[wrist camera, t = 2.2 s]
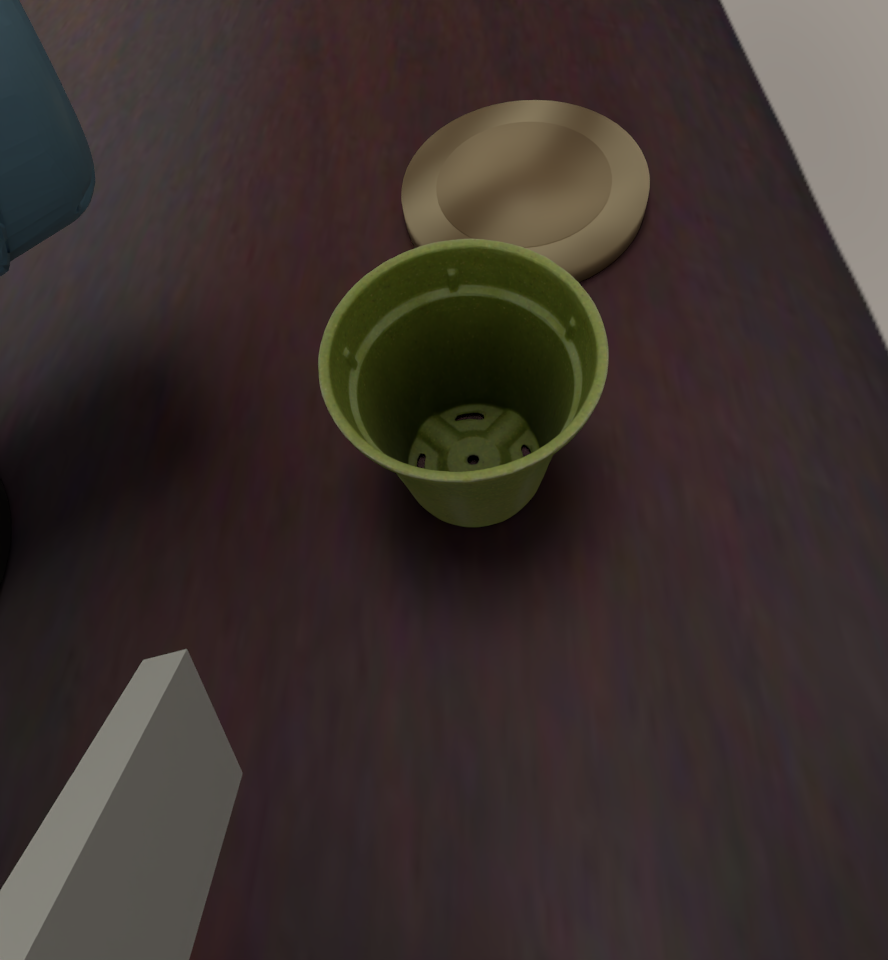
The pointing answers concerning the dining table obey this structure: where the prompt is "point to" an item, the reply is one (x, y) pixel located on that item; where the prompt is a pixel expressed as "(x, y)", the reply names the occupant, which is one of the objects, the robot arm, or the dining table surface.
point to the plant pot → (464, 372)
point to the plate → (531, 183)
